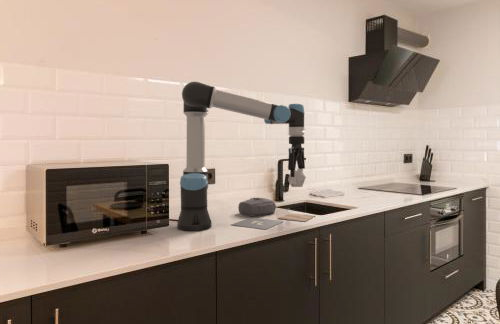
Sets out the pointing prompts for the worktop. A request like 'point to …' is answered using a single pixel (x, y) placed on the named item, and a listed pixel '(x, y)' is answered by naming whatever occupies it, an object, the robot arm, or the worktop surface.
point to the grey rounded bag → (257, 207)
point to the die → (298, 179)
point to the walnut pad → (296, 217)
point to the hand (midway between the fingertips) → (296, 182)
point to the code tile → (257, 223)
